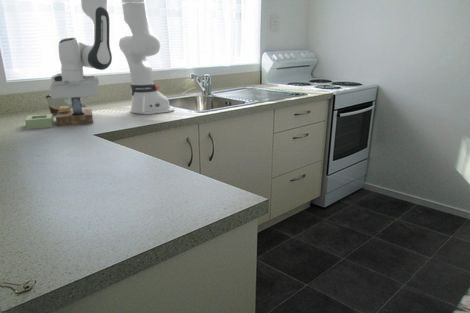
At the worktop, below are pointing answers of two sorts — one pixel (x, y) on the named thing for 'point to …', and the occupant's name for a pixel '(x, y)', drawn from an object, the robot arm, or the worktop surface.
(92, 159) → the worktop surface
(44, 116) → the square ring
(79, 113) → the peg
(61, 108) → the yellow square block
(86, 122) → the socket block
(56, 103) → the food container
